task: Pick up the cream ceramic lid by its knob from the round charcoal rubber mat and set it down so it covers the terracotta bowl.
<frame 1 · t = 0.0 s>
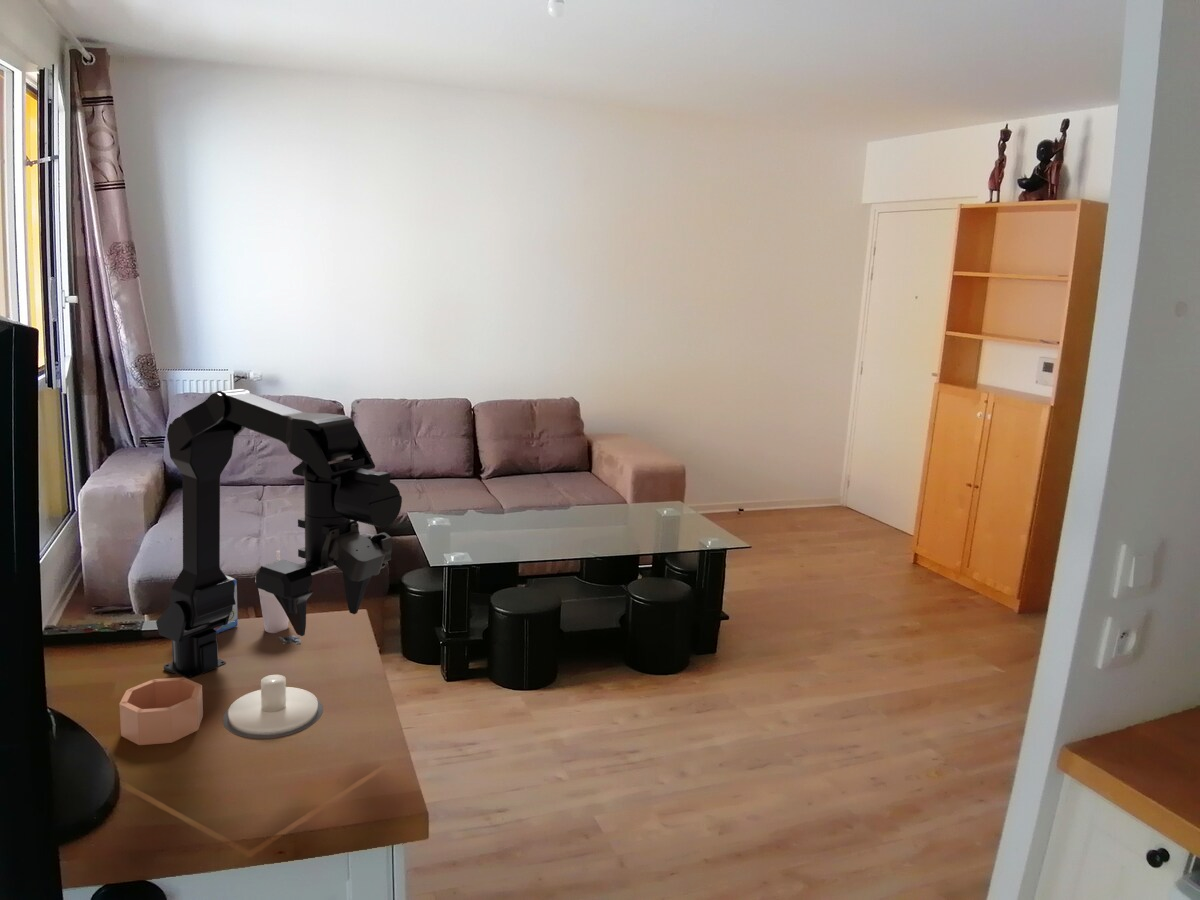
hand: (327, 623, 117), 15 cm above the table, tool pointing down, fingers open, 9 cm apart
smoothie: (276, 629, 149), on the table
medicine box: (209, 631, 147), on the table
lid: (273, 713, 121), resting on mat
mat: (273, 716, 121), on the table
bowl: (163, 728, 116), on the table
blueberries: (286, 647, 144), on the table
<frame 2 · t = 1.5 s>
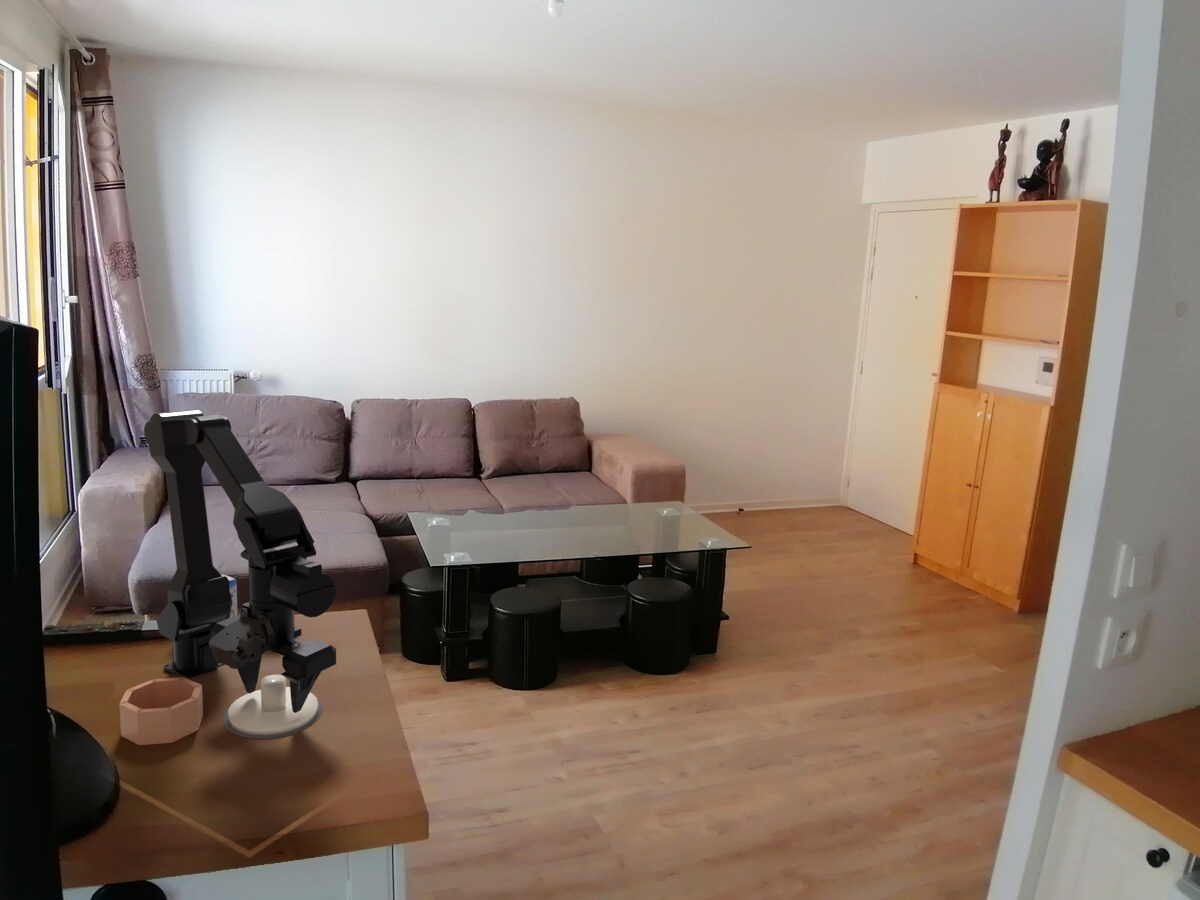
hand: (273, 701, 121), 2 cm above the table, tool pointing down, fingers open, 9 cm apart
nothing on the table moved.
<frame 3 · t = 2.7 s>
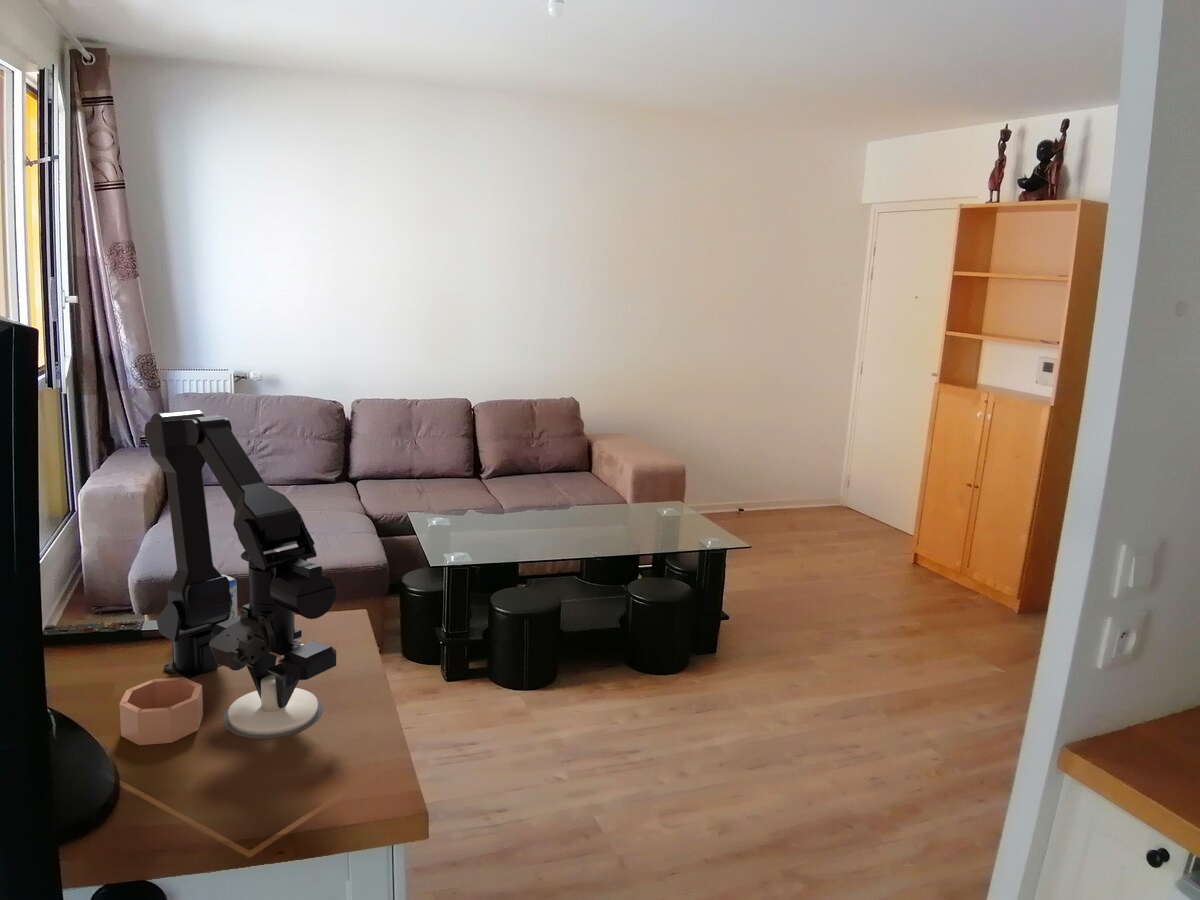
hand: (273, 703, 121), 2 cm above the table, tool pointing down, fingers closed on lid, 3 cm apart
lid: (273, 713, 121), resting on mat, touching gripper
everything else where it was.
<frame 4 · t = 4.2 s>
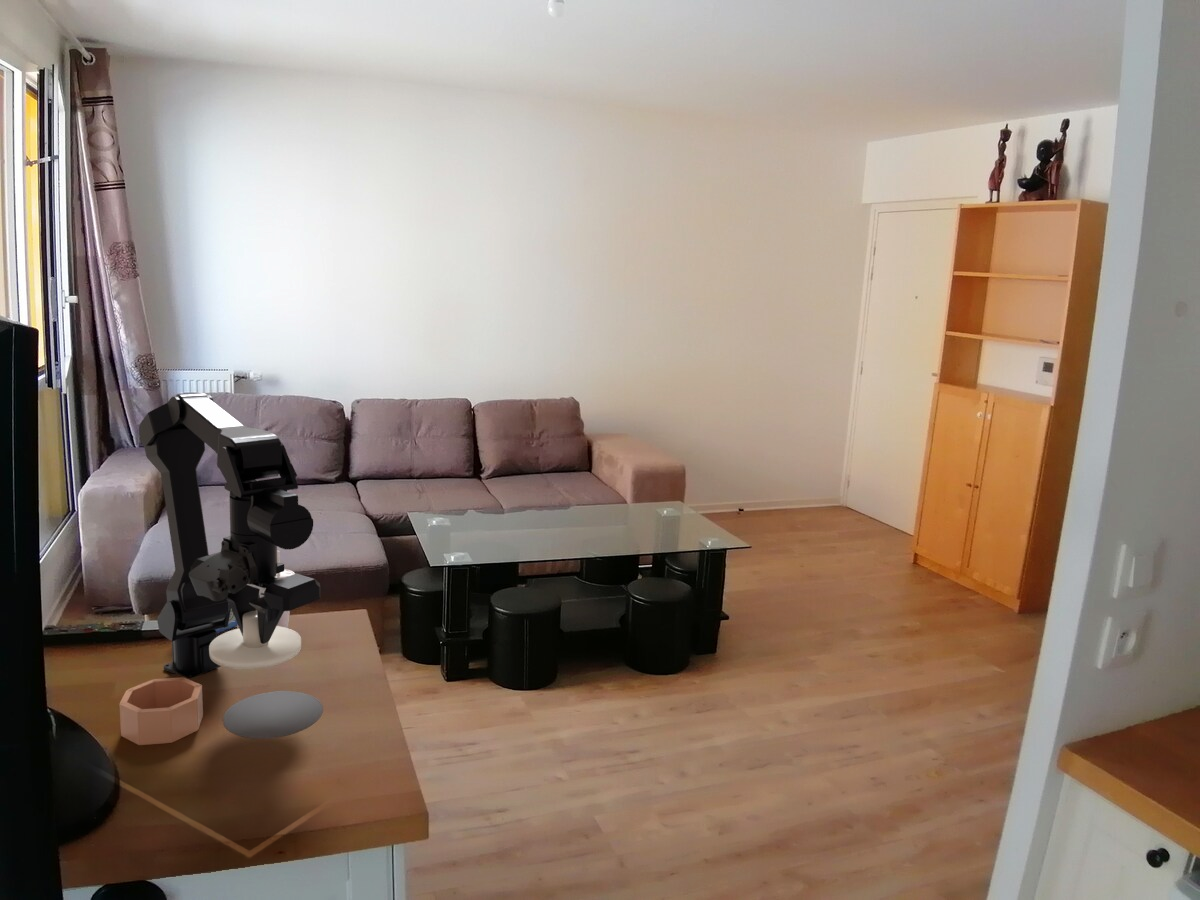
hand: (255, 639, 118), 12 cm above the table, tool pointing down, fingers closed on lid, 3 cm apart
lid: (256, 649, 118), point 10 cm above the table, touching gripper
everything else where it was.
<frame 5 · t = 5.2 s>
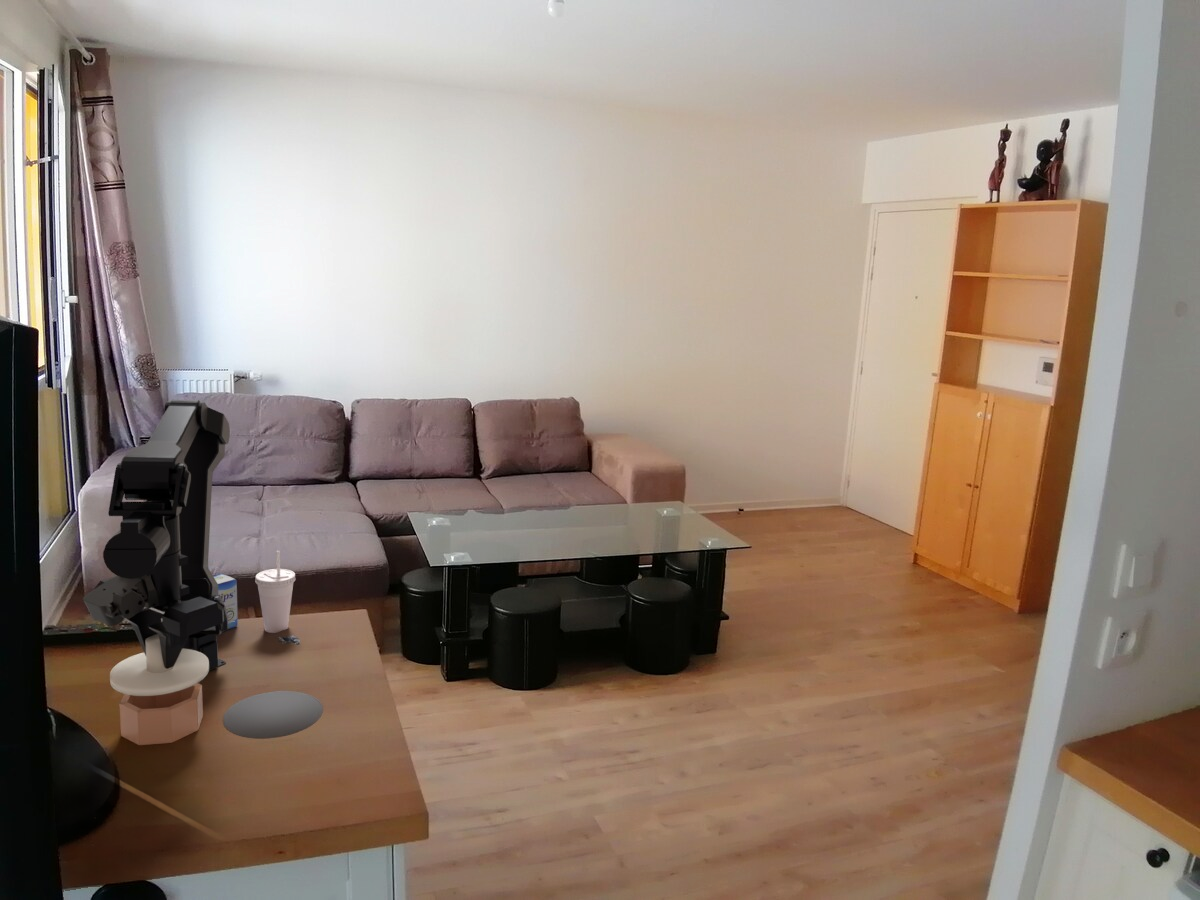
hand: (160, 663, 115), 9 cm above the table, tool pointing down, fingers closed on lid, 3 cm apart
lid: (160, 674, 115), point 8 cm above the table, touching gripper
everything else where it was.
when the fingers open (8 cm above the table, at t = 6.0 s): lid drops 1 cm, resting on bowl.
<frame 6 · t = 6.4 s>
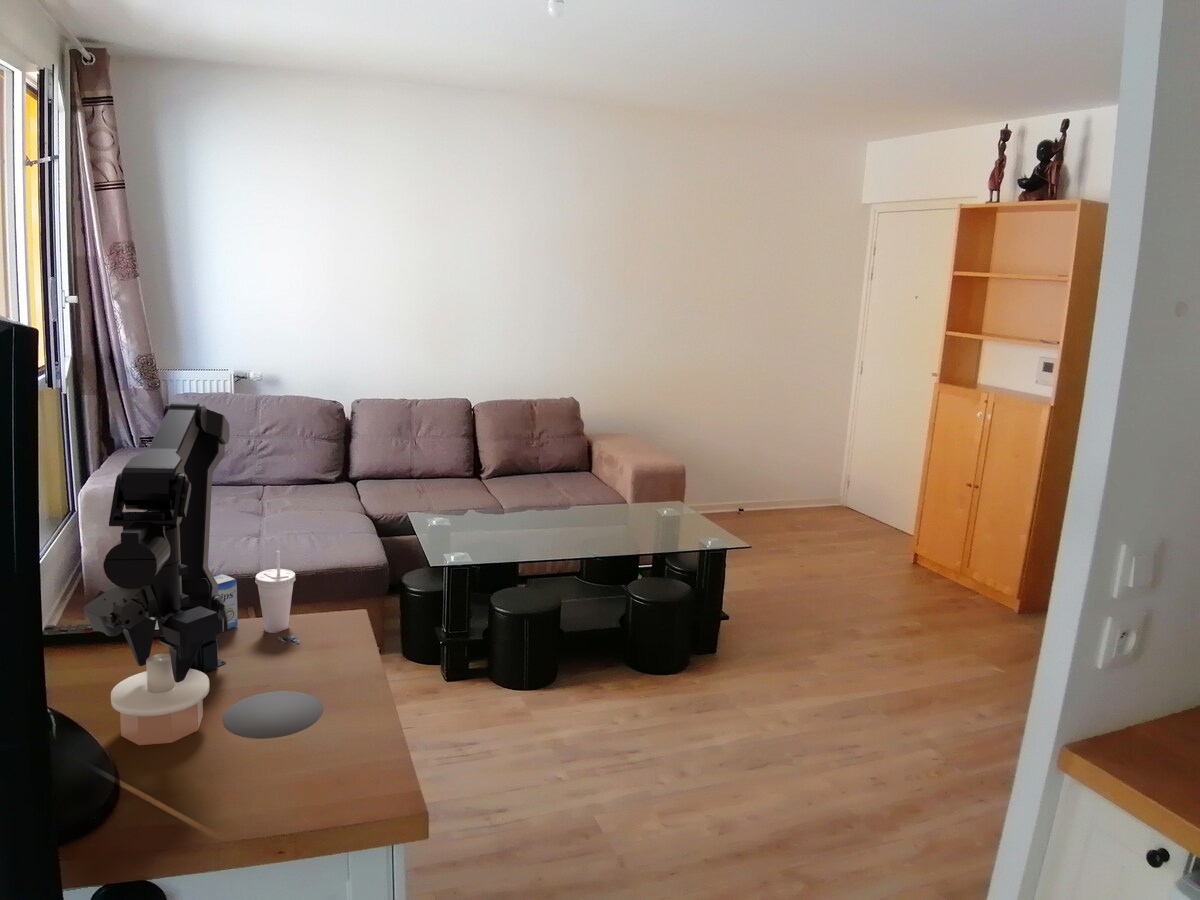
hand: (160, 673, 115), 8 cm above the table, tool pointing down, fingers open, 7 cm apart
lid: (161, 694, 115), point 5 cm above the table, touching bowl
bowl: (163, 728, 116), on the table, touching lid
everything else where it was.
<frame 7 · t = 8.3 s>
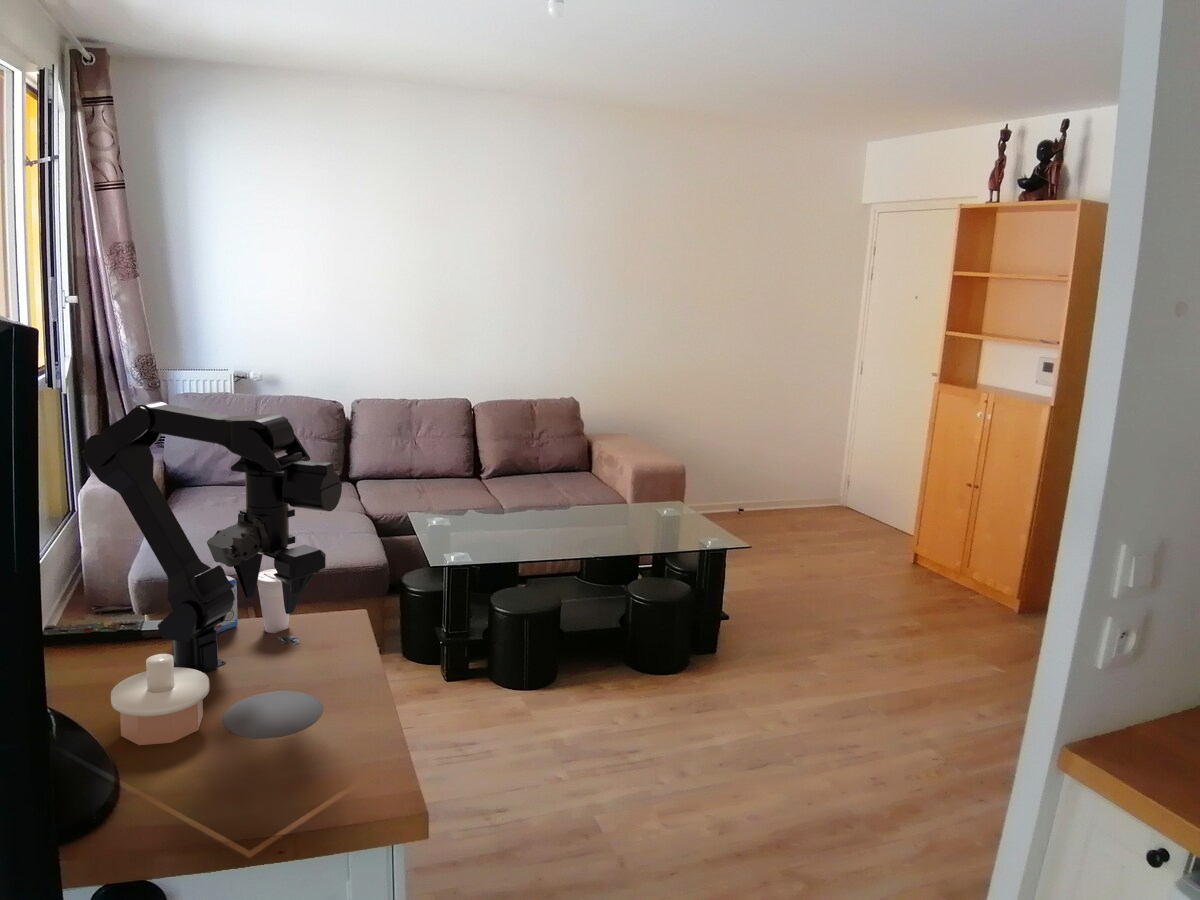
hand: (269, 605, 129), 12 cm above the table, tool pointing down, fingers open, 9 cm apart
nothing on the table moved.
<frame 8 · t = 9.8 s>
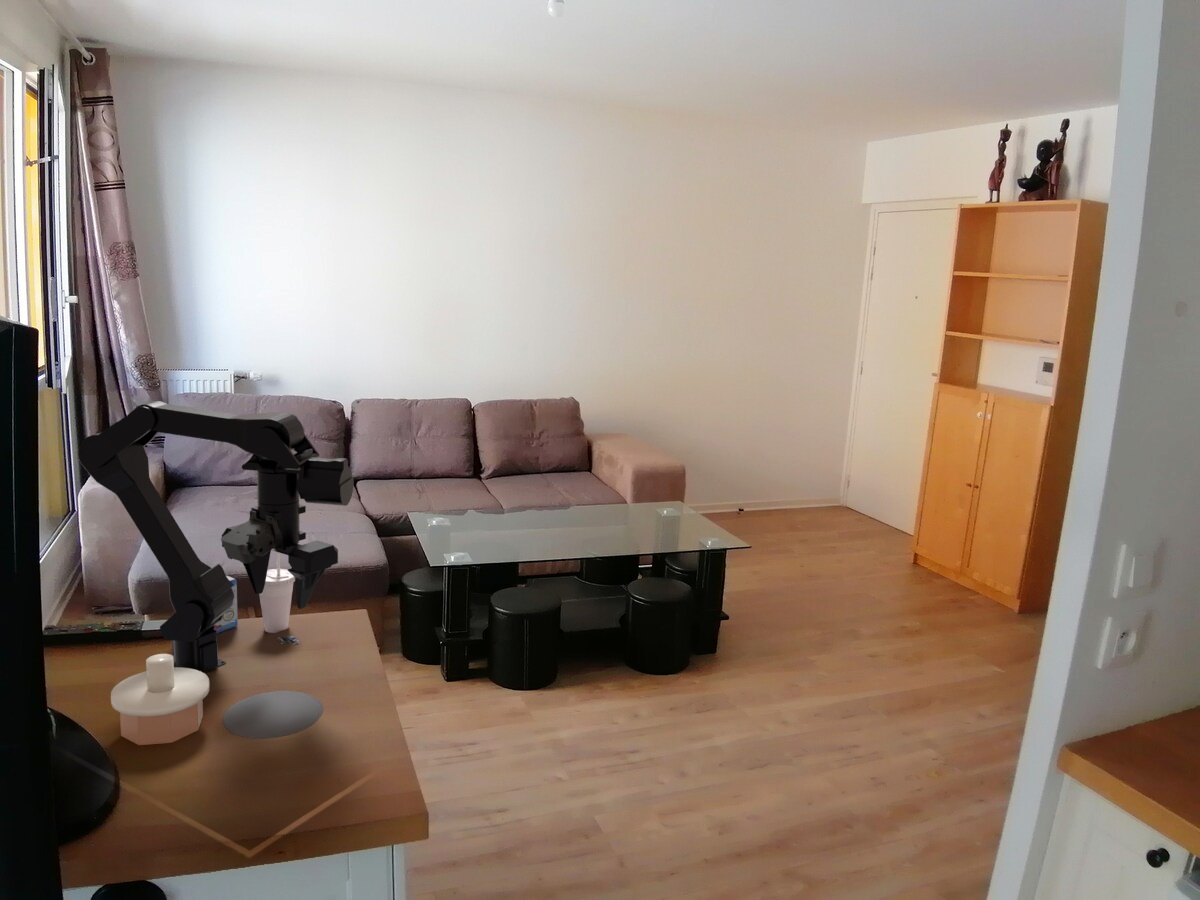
hand: (279, 600, 131), 12 cm above the table, tool pointing down, fingers open, 9 cm apart
nothing on the table moved.
at the end: lid 0.0 cm off-centre on the bowl, point 5.0 cm above the bowl's base; lid tilted 0°; bowl moved 0.0 cm from its start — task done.
